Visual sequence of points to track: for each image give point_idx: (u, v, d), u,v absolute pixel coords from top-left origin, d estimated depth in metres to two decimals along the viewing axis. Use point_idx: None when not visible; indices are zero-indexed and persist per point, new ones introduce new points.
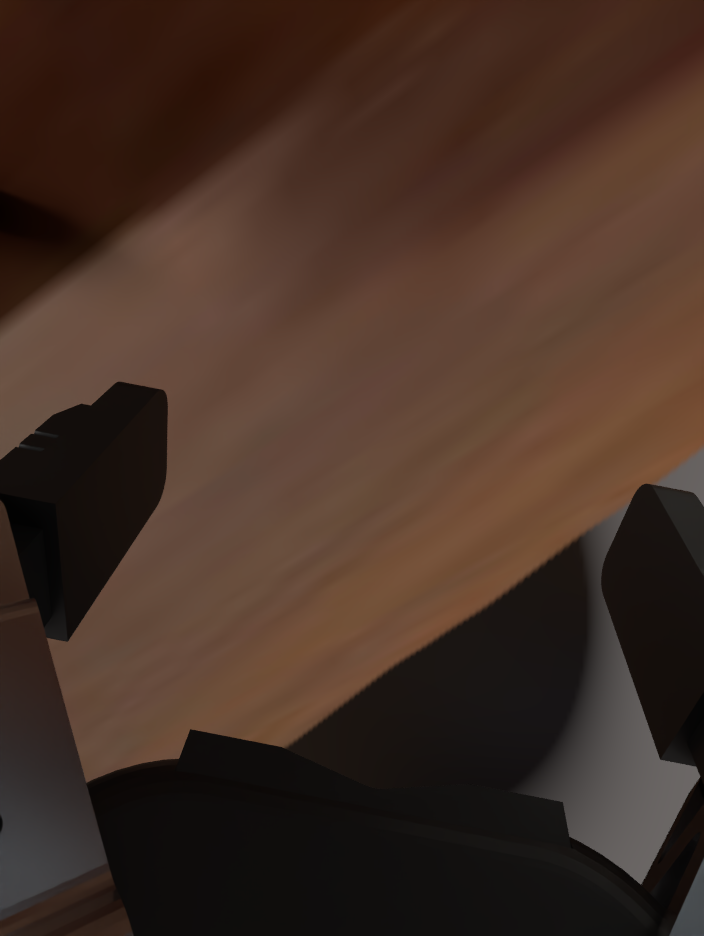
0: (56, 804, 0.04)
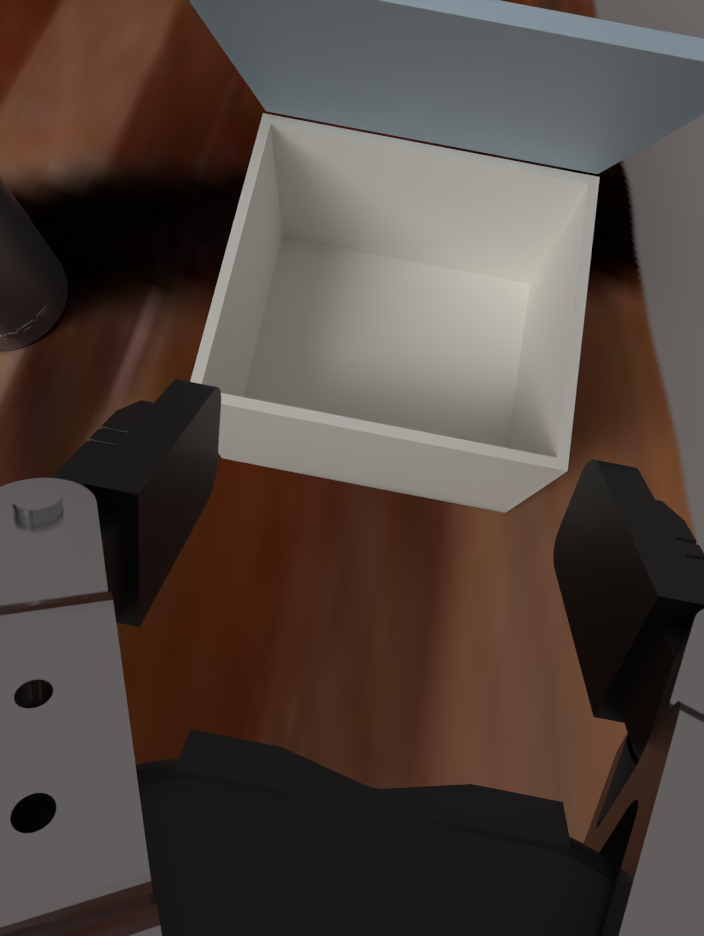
0: (106, 795, 0.04)
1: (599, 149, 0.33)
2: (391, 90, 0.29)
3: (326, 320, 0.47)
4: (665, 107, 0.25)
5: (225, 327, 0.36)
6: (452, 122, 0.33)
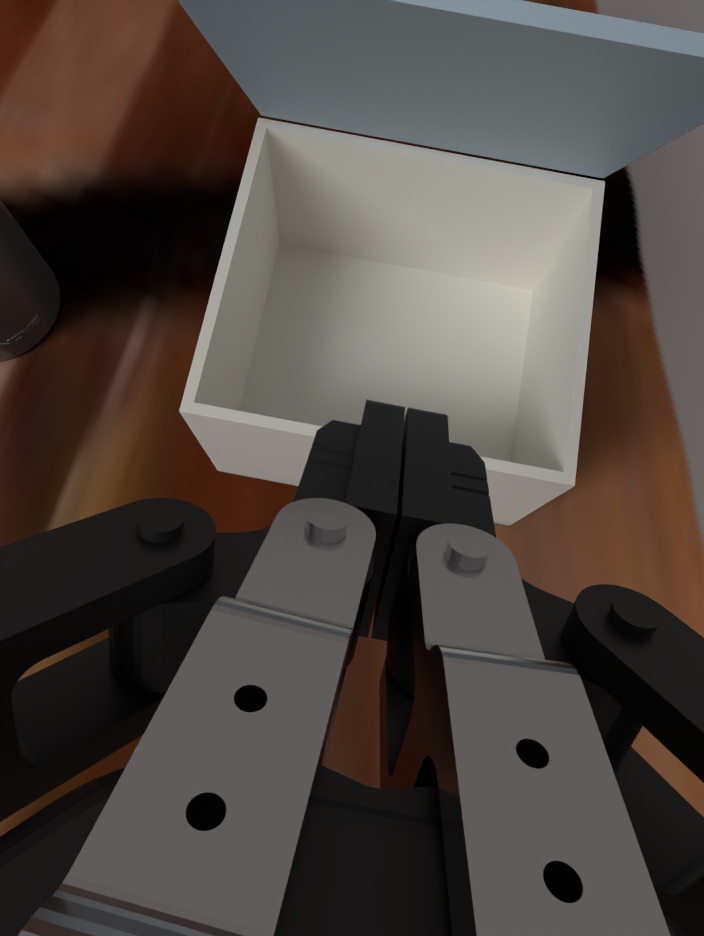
0: (268, 829, 0.04)
1: (605, 153, 0.31)
2: (390, 93, 0.28)
3: (324, 328, 0.46)
4: (677, 109, 0.24)
5: (220, 338, 0.35)
6: (453, 126, 0.32)
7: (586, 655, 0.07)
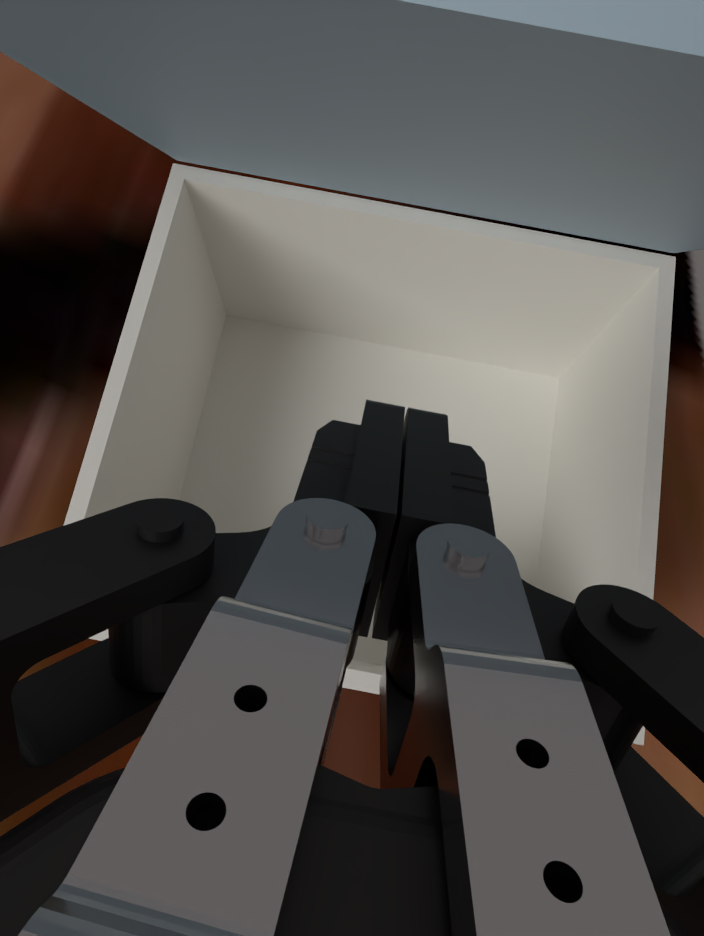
0: (268, 831, 0.04)
1: (696, 233, 0.20)
2: (351, 147, 0.17)
3: (283, 432, 0.35)
4: None
5: (111, 493, 0.24)
6: (457, 189, 0.20)
7: (586, 655, 0.07)
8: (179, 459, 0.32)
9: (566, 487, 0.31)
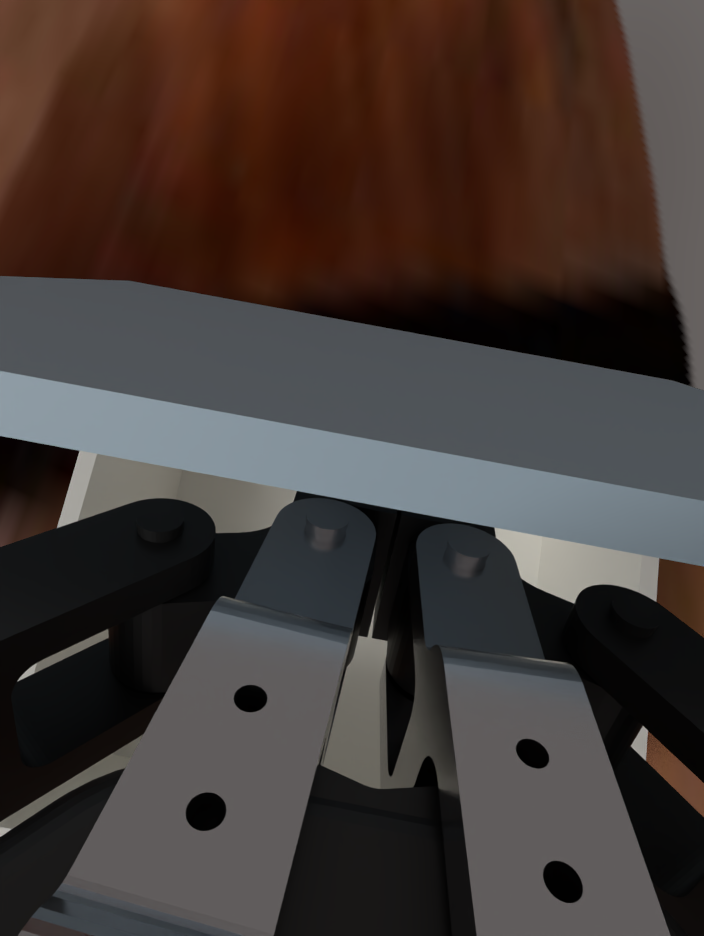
0: (268, 831, 0.04)
1: None
2: None
3: None
4: None
5: None
6: None
7: (586, 655, 0.07)
8: None
9: None
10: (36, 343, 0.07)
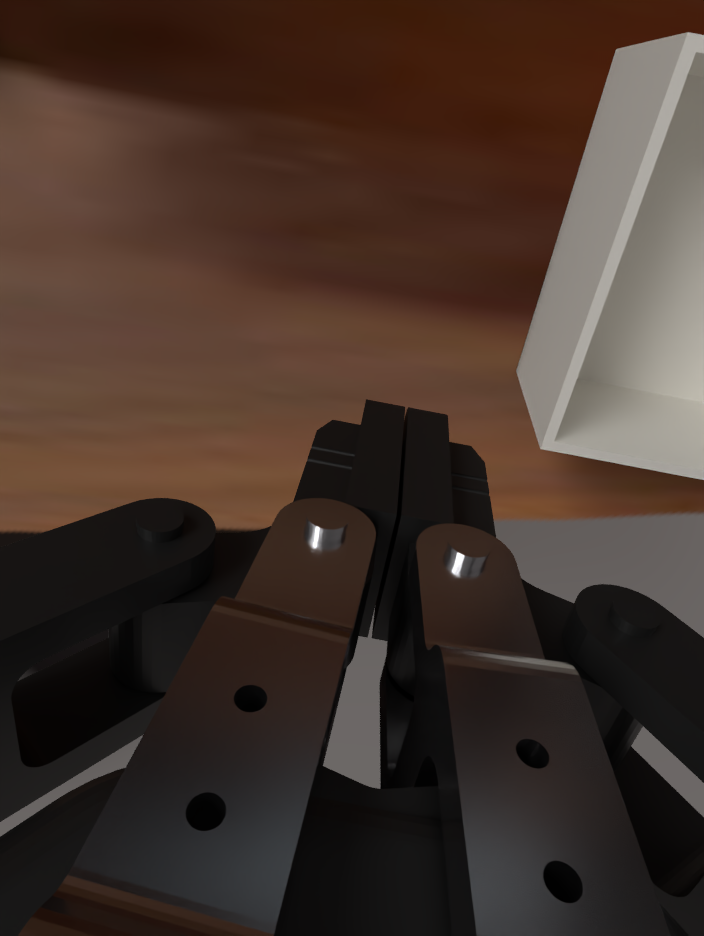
0: (269, 832, 0.04)
1: None
2: None
3: None
4: None
5: None
6: None
7: (586, 655, 0.07)
8: None
9: (677, 413, 0.44)
10: None
